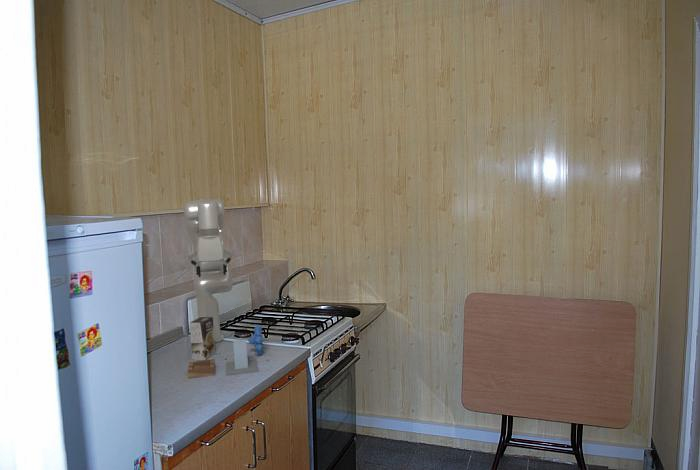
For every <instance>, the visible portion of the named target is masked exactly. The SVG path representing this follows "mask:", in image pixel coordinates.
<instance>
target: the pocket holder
mask: <svg viewBox="0 0 700 470" xmlns="http://www.w3.org/2000/svg"><path fill="white" fill-rule="evenodd" d="M215 361H216V359H215V358H213V359H206V360H195V361H189V363H188V367H187V379H188V380H189V379H196V378H202V377H204V378H205V377H210V376H215V375H216V374H215V373H216V362H215Z"/></svg>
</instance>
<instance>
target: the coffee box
mask: <svg viewBox="0 0 700 470" xmlns="http://www.w3.org/2000/svg"><path fill="white" fill-rule="evenodd" d="M189 330H190V345H191V346H190V347H191V350H190V351H191V359H192V360H193V361H194V360H195V361H204V360H208V359H210V358H211V356H213V355H214V354H216V343H215V341H214V326H213V317H200V318H198V317H197V318H196V319H194V320H192V321H190V322H189Z"/></svg>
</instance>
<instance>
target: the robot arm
mask: <svg viewBox="0 0 700 470" xmlns="http://www.w3.org/2000/svg"><path fill="white" fill-rule="evenodd" d="M225 215H226V208H225V203H224V202H223V200H222V199H220V198H199V199H196V200H192V201H191V200H190V201H186V202H185V203H184V204H183V216H184V218H185V230H186V232H187V235H188V237H189V239H190V242H191V243H192V247H193V253H191V254H190V255H188V257H187V259H188V260H189V262H190V264H192V265H193V266H194V267H195V269H196V275H197V276H196V277H195V278H194V279H193V289H194V292H195V298H196V305H197V307H196V308H197V319H198V318H200V317H213V326H214V341H215V344H216V343H219V342H221V341H223V340H224V339H225V335H224V334H222V333H221V324H220V323H221V321H220V310H219V309H220V308H219V306H220V305H219V301H218V299H217V298H216V297H214V296H213V295H214V294H223V293H228V292H231V291H232V289H233V283H234V282H233V276H232V268H231V260H232V258H233V257H234V253H233V252H231V251H229V250H227V249H224V243H223V242H224V241H223V237H222V235H220V234H221V233H222V234H223V233H224V232H223V230H224V228H225V217H226V216H225ZM207 272H208V273H207ZM209 272H210V273H209ZM212 272H213V273H212ZM214 272H215V273H214ZM202 273H204V274H202Z"/></svg>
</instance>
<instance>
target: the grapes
mask: <svg viewBox="0 0 700 470" xmlns="http://www.w3.org/2000/svg"><path fill="white" fill-rule="evenodd" d="M262 329H263V328H262V327H261V326H260V325H258V324H257V325H255V327H254V328H253V336H251V337H250V338H249V339H248V343H249V344H250V345H252V346H254V349H255V351H254V352H255V354H257V356H261V355H262V353H263V352H264V349H263V348H264V347H263V342H264V341H265V338H264V337H263V335H262V333H263V332H262V331H263V330H262Z"/></svg>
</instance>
